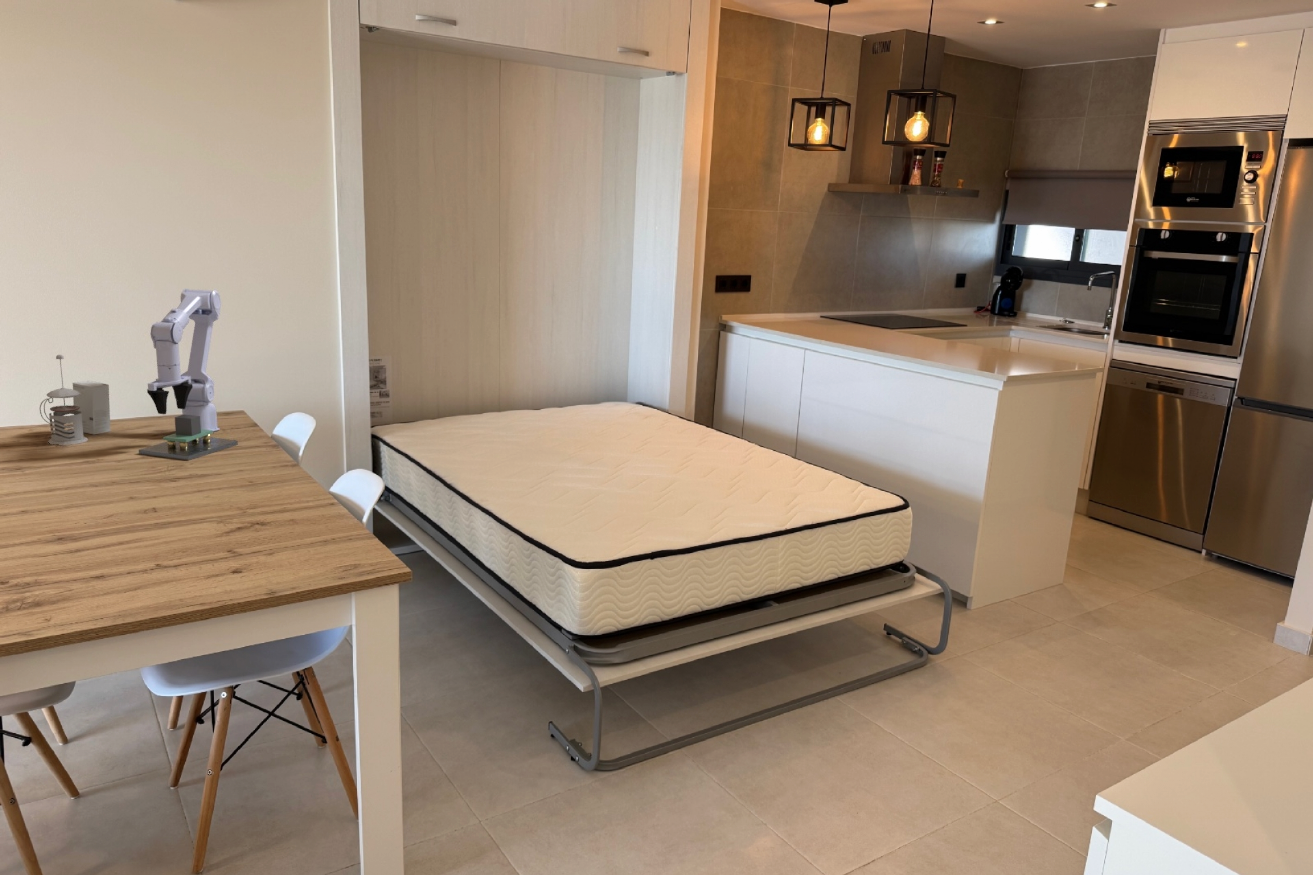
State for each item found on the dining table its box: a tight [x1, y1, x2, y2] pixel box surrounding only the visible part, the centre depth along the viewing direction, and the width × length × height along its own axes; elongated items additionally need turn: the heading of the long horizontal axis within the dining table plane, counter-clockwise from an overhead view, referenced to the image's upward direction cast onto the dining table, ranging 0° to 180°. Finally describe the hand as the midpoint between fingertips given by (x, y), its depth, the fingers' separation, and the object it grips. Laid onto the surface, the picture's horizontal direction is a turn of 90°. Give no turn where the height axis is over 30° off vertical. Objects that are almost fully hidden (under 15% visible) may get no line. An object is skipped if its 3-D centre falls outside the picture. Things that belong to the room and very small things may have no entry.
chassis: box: [138, 434, 239, 461], centre depth 257 cm, size 20×16×4 cm
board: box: [162, 414, 214, 442], centre depth 256 cm, size 12×7×6 cm, turn 171°
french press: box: [39, 354, 89, 446], centre depth 255 cm, size 10×12×25 cm
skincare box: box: [72, 380, 111, 435], centre depth 268 cm, size 8×6×15 cm
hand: (171, 411), depth 259 cm, fingers open, 7 cm apart
